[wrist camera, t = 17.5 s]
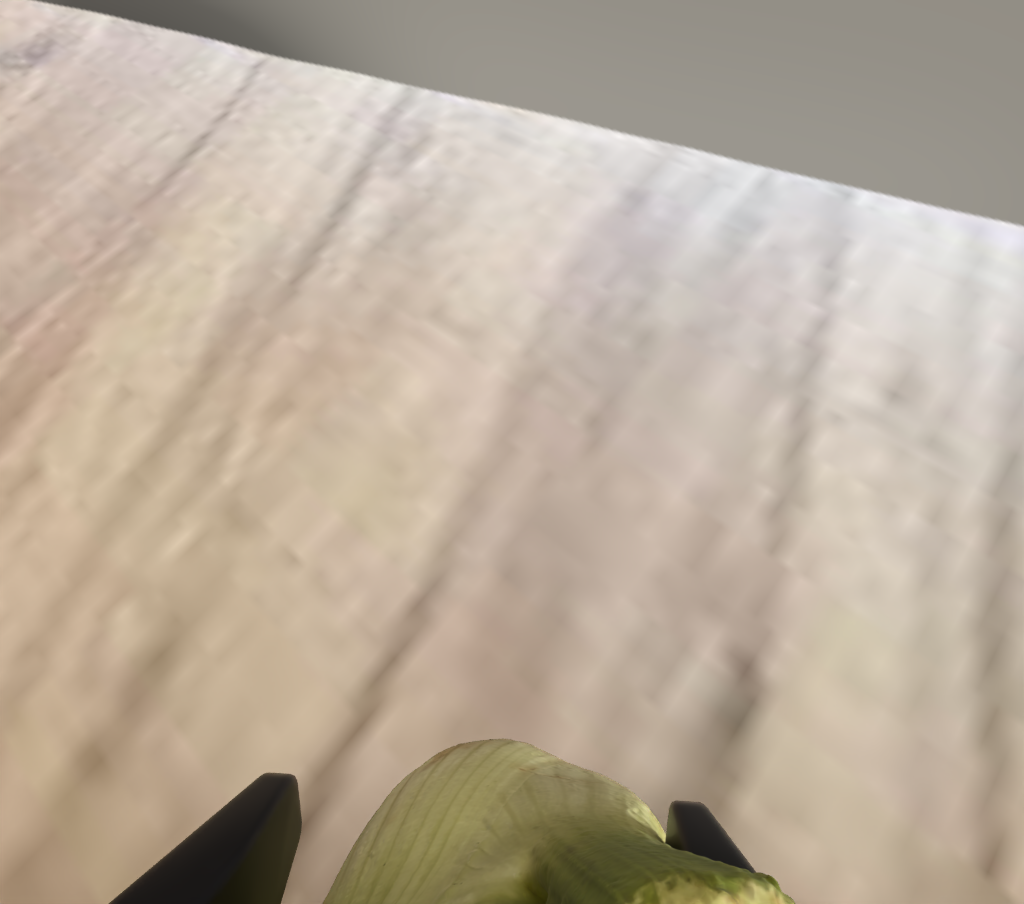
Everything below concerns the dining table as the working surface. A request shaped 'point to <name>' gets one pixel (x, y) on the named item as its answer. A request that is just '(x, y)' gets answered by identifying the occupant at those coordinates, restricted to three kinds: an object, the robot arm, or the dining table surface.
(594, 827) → the fennel bulb
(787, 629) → the dining table surface
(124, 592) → the dining table surface
